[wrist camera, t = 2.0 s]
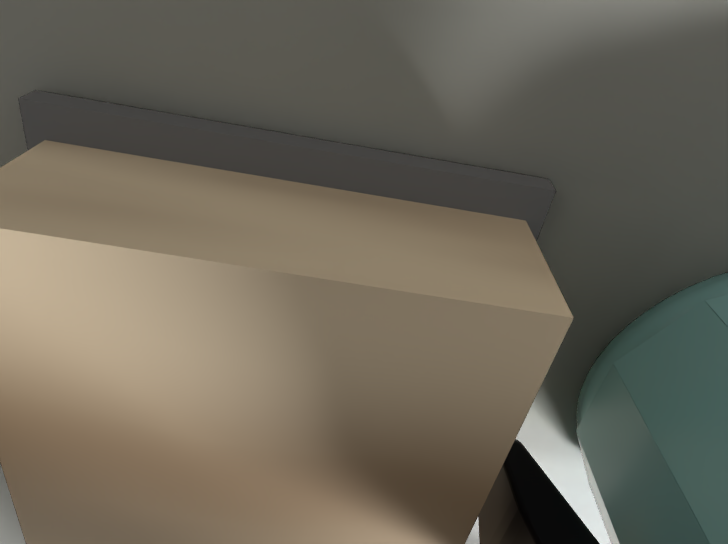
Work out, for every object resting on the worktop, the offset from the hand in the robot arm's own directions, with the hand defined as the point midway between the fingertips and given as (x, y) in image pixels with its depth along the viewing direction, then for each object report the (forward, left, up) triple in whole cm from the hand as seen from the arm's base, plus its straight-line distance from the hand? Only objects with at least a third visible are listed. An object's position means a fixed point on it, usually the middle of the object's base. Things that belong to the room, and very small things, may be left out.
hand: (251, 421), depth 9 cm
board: (0, 0, -1) cm, 1 cm away
